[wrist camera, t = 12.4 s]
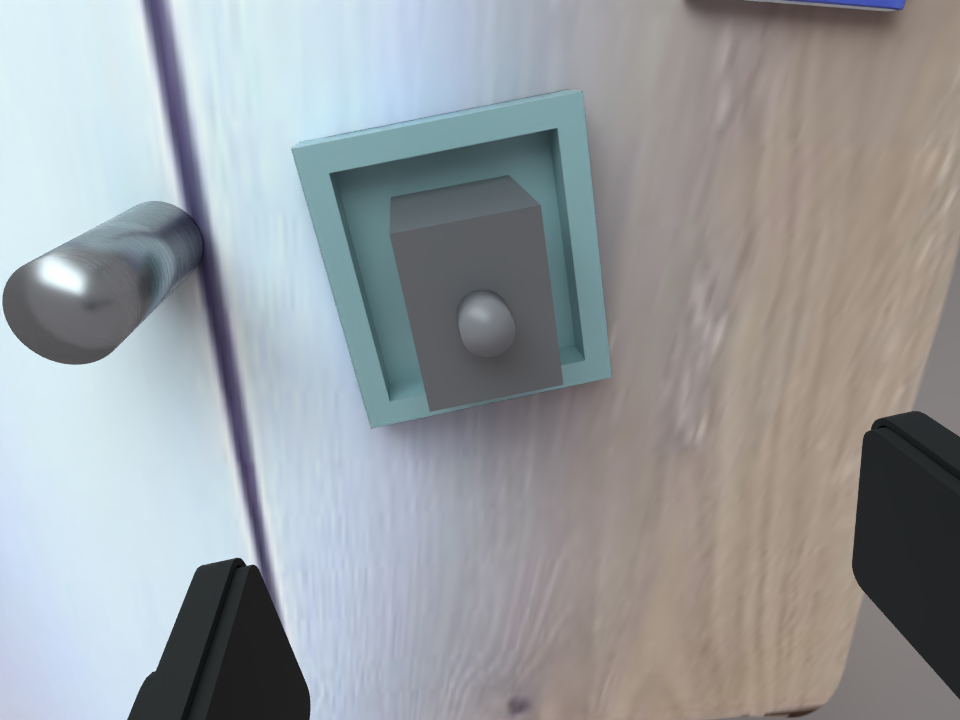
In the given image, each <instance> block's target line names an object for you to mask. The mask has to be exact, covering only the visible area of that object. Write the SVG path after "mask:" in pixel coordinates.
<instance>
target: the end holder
mask: <svg viewBox="0 0 960 720" xmlns="http://www.w3.org/2000/svg"><path fill="white" fill-rule="evenodd" d="M291 150H292V153H293V157H294V160H295V164H296V167H297V171H298V174H299V178H300V181H301V185H302V188H303V192H304V195H305V199H306V202H307V206H308V209H309V213H310V216H311V220H312V223H313V227H314V230H315V234H316V237H317V241H318V244H319V248H320V251H321V255H322V258H323V262H324V265H325V269H326V272H327V276H328V279H329V283H330V286H331V290H332V293H333V297H334V300H335V304H336V307H337V311H338V314H339V318H340V321H341V325H342V328H343V332H344V335H345V339H346V342H347V346H348V349H349V353H350V356H351V360H352V363H353V367H354V371H355V374H356V378H357V381H358V385H359V388H360V392H361V395H362V399H363V402H364V406H365V409H366V413H367V416H368V420H369V423H370V427H371V429H372V428H376V427H381V426H386V425H390V424H395V423H400V422H404V421H409V420H414V419H418V418H423V417H428V416H433V415H437V414H442V413H447V412H451V411H456V410H461V409H465V408H470V407H475V406H479V405H484V404H489V403H494V402H498V401H503V400H508V399H512V398H517V397H522V396H526V395H531V394H536V393H540V392H545V391H550V390H555V389H559V388H564V387H569V386H573V385H578V384H583V383H587V382H592V381H597V380H601V379H606V378H611V377H612V376H611V366H610V356H609V346H608V336H607V326H606V317H605V307H604V297H603V287H602V277H601V267H600V257H599V248H598V238H597V228H596V218H595V208H594V198H593V189H592V179H591V169H590V159H589V149H588V139H587V129H586V120H585V110H584V100H583V91H574V90H563V91H558V92H553V93H548V94H542V95H537V96H532V97H527V98H522V99H517V100H512V101H507V102H502V103H497V104H492V105H487V106H482V107H476V108H471V109H466V110H461V111H456V112H451V113H446V114H441V115H436V116H431V117H426V118H421V119H415V120H410V121H405V122H400V123H395V124H390V125H385V126H380V127H375V128H370V129H365V130H360V131H354V132H349V133H344V134H339V135H334V136H329V137H324V138H319V139H314V140H309V141H304V142H300V143H298V144H297V145H296V146H294V147H293V148H292V149H291ZM505 175H509V176H510V177H512V178H513V179H514V180H515V181H516V182H517V183H518V184H519V185H520V186H521V187H522V188H523V189H524V190H526V191H527V192H528V193H529V194H530V195H531V196H532V197H533V198H534V199H535V200H536V201H537V202H538V203H539V204H541V210H542V218H543V226H544V234H545V242H546V250H547V258H548V266H549V274H550V282H551V290H552V298H553V306H554V314H555V322H556V330H557V338H558V345H559V353H560V361H561V369H562V377H563V385H560V386H555V387H550V388H545V389H540V390H535V391H531V392H526V393H521V394H516V395H511V396H506V397H501V398H496V399H491V400H486V401H481V402H477V403H472V404H467V405H462V406H457V407H452V408H447V409H442V410H437V411H432V412H430V411H429V406H428V402H427V398H426V393H425V389H424V384H423V380H422V375H421V371H420V367H419V362H418V358H417V353H416V349H415V345H414V340H413V336H412V331H411V327H410V322H409V318H408V314H407V309H406V305H405V300H404V296H403V292H402V287H401V283H400V278H399V274H398V270H397V265H396V261H395V256H394V252H393V247H392V243H391V239H390V234H389V232H390V203H391V197H395V196H400V195H405V194H410V193H416V192H421V191H426V190H431V189H437V188H442V187H447V186H452V185H458V184H463V183H468V182H474V181H479V180H484V179H489V178H495V177H500V176H505Z"/></svg>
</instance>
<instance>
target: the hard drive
mask: <svg viewBox="0 0 960 720" xmlns="http://www.w3.org/2000/svg"><path fill="white" fill-rule="evenodd" d="M746 1H759V2H772V3H784V4H798V5H811V6H824V7H836V8H849V9H861V10H874V11H885V12H889V11H898V10H902V9H903V8H904V4H905V0H746Z"/></svg>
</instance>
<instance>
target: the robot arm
mask: <svg viewBox="0 0 960 720" xmlns="http://www.w3.org/2000/svg"><path fill="white" fill-rule="evenodd" d="M852 568H853V573H854V576H855V578H856V580H857V582H858V584H859V586H860V587H861V588H862V590H863V591H864V592H865V593H866V594H867V595H868V597H869V598H870V599H871V600H872V601H873V602H874V603H875V604H876V606H877V607H878V608H879V609H880V610H881V611H882V612H883V613H884V615H885V616H886V617H887V618H888V619H889V620H890V621H891V622H892V624H894V626H895V627H896V628H897V629H898V630H899V631H900V633H901V634H902V635H903V636H904V637H905V638H906V639H907V640H908V642H909V643H910V644H911V645H912V646H913V647H914V648H915V650H917V652H918V653H919V654H920V655H921V656H922V657H923V658H924V660H925V661H926V662H927V663H928V664H929V665H930V666H931V668H933V670H934V671H935V672H936V673H937V674H938V675H939V677H940V678H941V679H942V680H943V681H944V682H945V683H946V684H947V685H948V686H949V688H950V689H951V690H952V691H953V692H954V693H955V695H956V696H957V697H958V698H959V699H960V437H959V436H957V435H956V434H954V433H953V432H951V431H950V430H948V429H947V428H945V427H944V426H942V425H941V424H939V423H938V422H936V421H935V420H933V419H932V418H930V417H929V416H927V415H926V414H923V413H921V412H917V411H912V412H907V413H903V414H898V415H894V416H889V417H884V418H880V419H878V420H876V421H875V422H874V423H873V425H872V428H871V430H870V431H868V432H866V433H865V435H864V438H863V445H862V456H861V467H860V479H859V490H858V502H857V513H856V525H855V536H854V548H853V559H852ZM309 719H310V695H309V690H308V687H307V684H306V682H305V679H304V677H303V674H302V672H301V670H300V667H299V665H298V662H297V660H296V658H295V655H294V653H293V650H292V648H291V646H290V643H289V641H288V638H287V636H286V634H285V631H284V629H283V626H282V624H281V621H280V619H279V617H278V614H277V612H276V609H275V607H274V605H273V602H272V600H271V597H270V595H269V593H268V590H267V588H266V585H265V583H264V581H263V578H262V576H261V573H260V571H259V569H258V567H257V566H256V565H249V566H246V564H245V563H244V561H243V560H242V559H241V558H234V559H230V560H225V561H220V562H216V563H211V564H207V565H202V566H200V567H199V568H197V570H196V572H195V574H194V576H193V579H192V581H191V584H190V586H189V589H188V591H187V594H186V596H185V599H184V601H183V604H182V607H181V609H180V612H179V614H178V617H177V619H176V622H175V624H174V627H173V629H172V632H171V634H170V637H169V639H168V642H167V644H166V647H165V649H164V652H163V655H162V657H161V660H160V662H159V665H158V667H157V670H156V671H155V672H152V673H151V674H150V675H149V676H148V677H147V678H146V679H145V681H144V683H143V684H142V686H141V688H140V690H139V692H138V695H137V697H136V700H135V702H134V705H133V707H132V710H131V712H130V714H129V717H128V719H127V720H309Z"/></svg>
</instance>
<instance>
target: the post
mask: <svg viewBox="0 0 960 720" xmlns="http://www.w3.org/2000/svg"><path fill="white" fill-rule="evenodd" d="M203 249H204V244H203V238H202V234H201V232H200V229H199V228H198V226H197V224H196V223H195V221H194V220H193V219H192V218H191V217H190V216H189V215H188V214H187V213H186V212H185V211H183V210H182V209H180V208H178V207H176V206H174V205H172V204H169V203H165V202H159V201H151V202H145V203H141V204H139V205H136V206H135V207H133V208H131V209H129V210H127V211H125V212H123V213H121V214H119V215H118V216H116V217H114V218H112V219H110V220H108V221H106V222H104V223H102V224H101V225H99V226H97V227H95V228H93V229H91V230H89V231H87V232H85V233H83V234H82V235H80V236H78V237H76V238H74V239H72V240H70V241H68V242H66V243H65V244H63V245H61V246H59V247H57V248H55V249H53V250H51V251H49V252H48V253H46V254H44V255H42V256H40V257H38V258H36V259H34V260H32V261H30V262H29V263H27V264H25V265H23V266H22V267H20V268H19V269H18V270H16V271H15V272H14V273H13V274H12V276H11V277H10V278H9V280H8V281H7V283H6V286H5V288H4V292H3V311H4V314H5V318H6V320H7V322H8V325H9V326H10V328H11V330H12V331H13V333H14V334H15V335H16V336H17V338H18V339H19V340H20V341H21V342H22V343H23V344H24V345H25V346H27V347H28V348H29V349H31V350H32V351H34V352H35V353H37V354H39V355H40V356H42V357H44V358H47V359H49V360H52V361H55V362H59V363H64V364H73V365H75V364H87V363H92V362H95V361H98V360H100V359H102V358H104V357H106V356H107V355H109V354H110V353H111V352H112V351H114V350H115V349H116V348H117V347H118V346H119V345H120V344H121V343H122V342H123V341H124V340H125V339H126V338H127V337H128V336H129V335H130V334H131V333H132V332H133V331H134V330H135V329H136V328H137V327H138V326H139V325H140V324H141V323H142V322H143V321H144V320H145V319H146V318H147V317H148V316H149V315H150V314H151V313H152V312H153V311H154V310H155V309H156V308H157V307H158V306H159V305H160V304H161V303H162V302H163V301H164V300H165V299H166V298H167V297H168V296H169V295H170V294H171V293H172V292H173V291H174V290H175V289H176V288H177V287H178V286H179V285H180V284H181V283H182V282H183V281H184V280H185V279H186V278H187V277H188V276H189V275H190V274H191V273H192V272H193V271H194V269H195V268H196V267H197V266H198V264H199V263H200V261H201V259H202V255H203Z"/></svg>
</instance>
